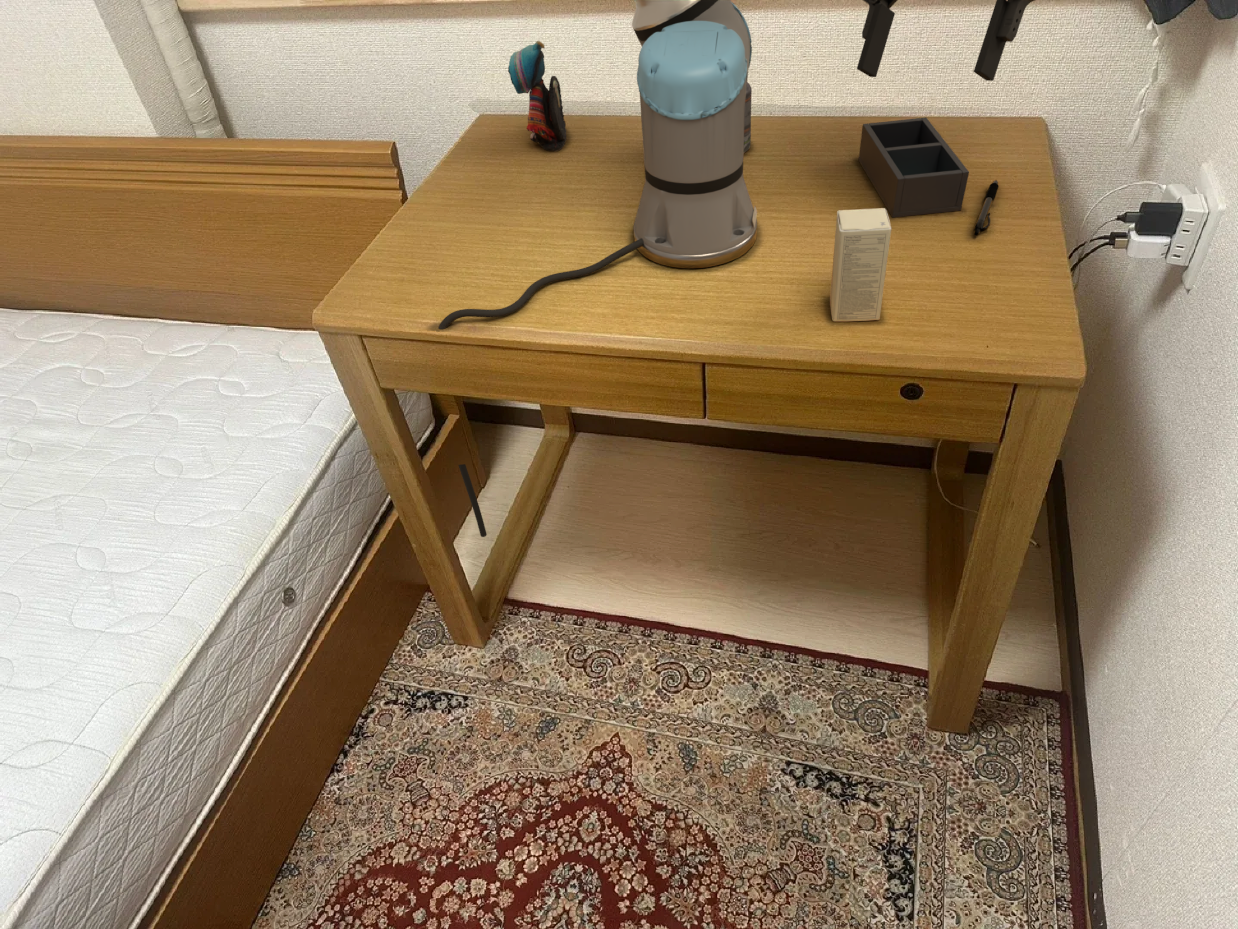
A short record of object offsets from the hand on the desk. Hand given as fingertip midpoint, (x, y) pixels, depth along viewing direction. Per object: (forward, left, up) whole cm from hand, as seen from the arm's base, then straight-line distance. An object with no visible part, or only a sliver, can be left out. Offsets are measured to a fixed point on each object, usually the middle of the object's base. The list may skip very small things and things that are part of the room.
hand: (921, 74), depth 87 cm
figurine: (-42, +41, -20) cm, 62 cm away
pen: (+14, +6, -20) cm, 25 cm away
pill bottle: (-15, +32, -20) cm, 40 cm away
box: (-8, -11, -20) cm, 25 cm away
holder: (+6, +16, -20) cm, 26 cm away
